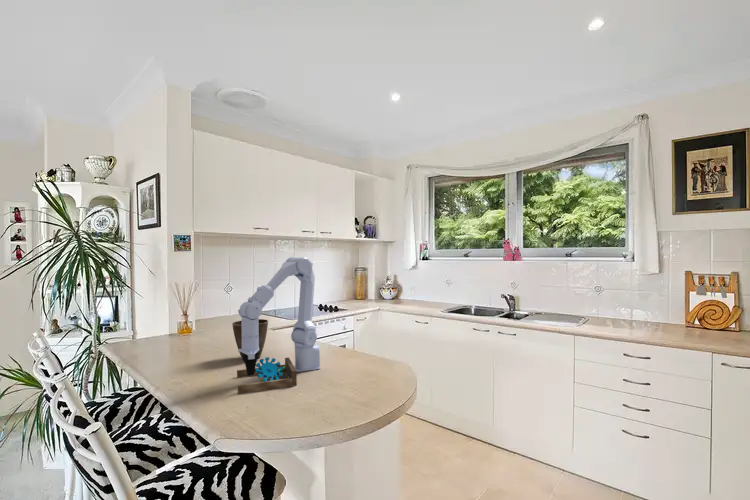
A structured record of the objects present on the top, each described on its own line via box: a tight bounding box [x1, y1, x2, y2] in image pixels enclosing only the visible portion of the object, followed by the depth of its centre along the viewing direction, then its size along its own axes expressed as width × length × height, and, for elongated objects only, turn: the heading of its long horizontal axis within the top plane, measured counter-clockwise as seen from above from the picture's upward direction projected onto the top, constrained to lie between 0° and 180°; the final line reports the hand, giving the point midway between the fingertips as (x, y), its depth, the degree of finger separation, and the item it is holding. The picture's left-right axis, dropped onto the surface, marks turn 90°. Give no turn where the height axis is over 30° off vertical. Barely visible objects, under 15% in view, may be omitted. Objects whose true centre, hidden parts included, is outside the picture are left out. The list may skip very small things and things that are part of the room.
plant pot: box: [232, 318, 269, 361], centre depth 160 cm, size 15×15×16 cm
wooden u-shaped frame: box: [236, 357, 298, 395], centre depth 131 cm, size 19×18×5 cm
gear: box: [255, 356, 285, 382], centre depth 132 cm, size 11×6×10 cm
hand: (250, 374), depth 129 cm, fingers closed
